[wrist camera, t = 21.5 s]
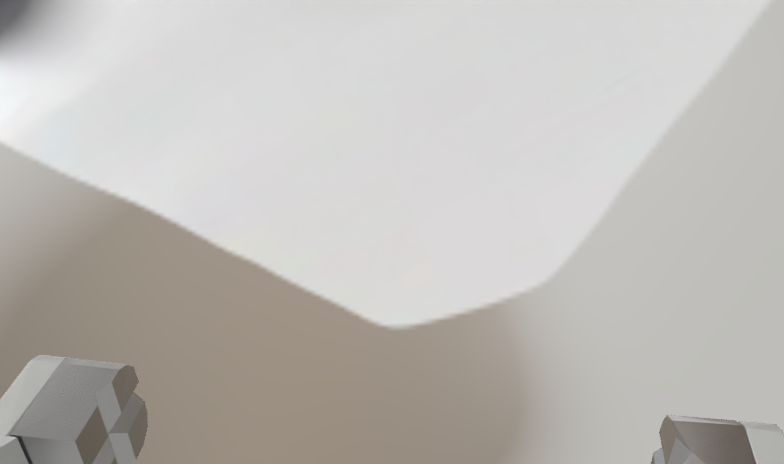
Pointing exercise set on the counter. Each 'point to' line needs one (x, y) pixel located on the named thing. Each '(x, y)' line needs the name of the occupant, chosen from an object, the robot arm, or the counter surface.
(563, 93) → the counter surface
